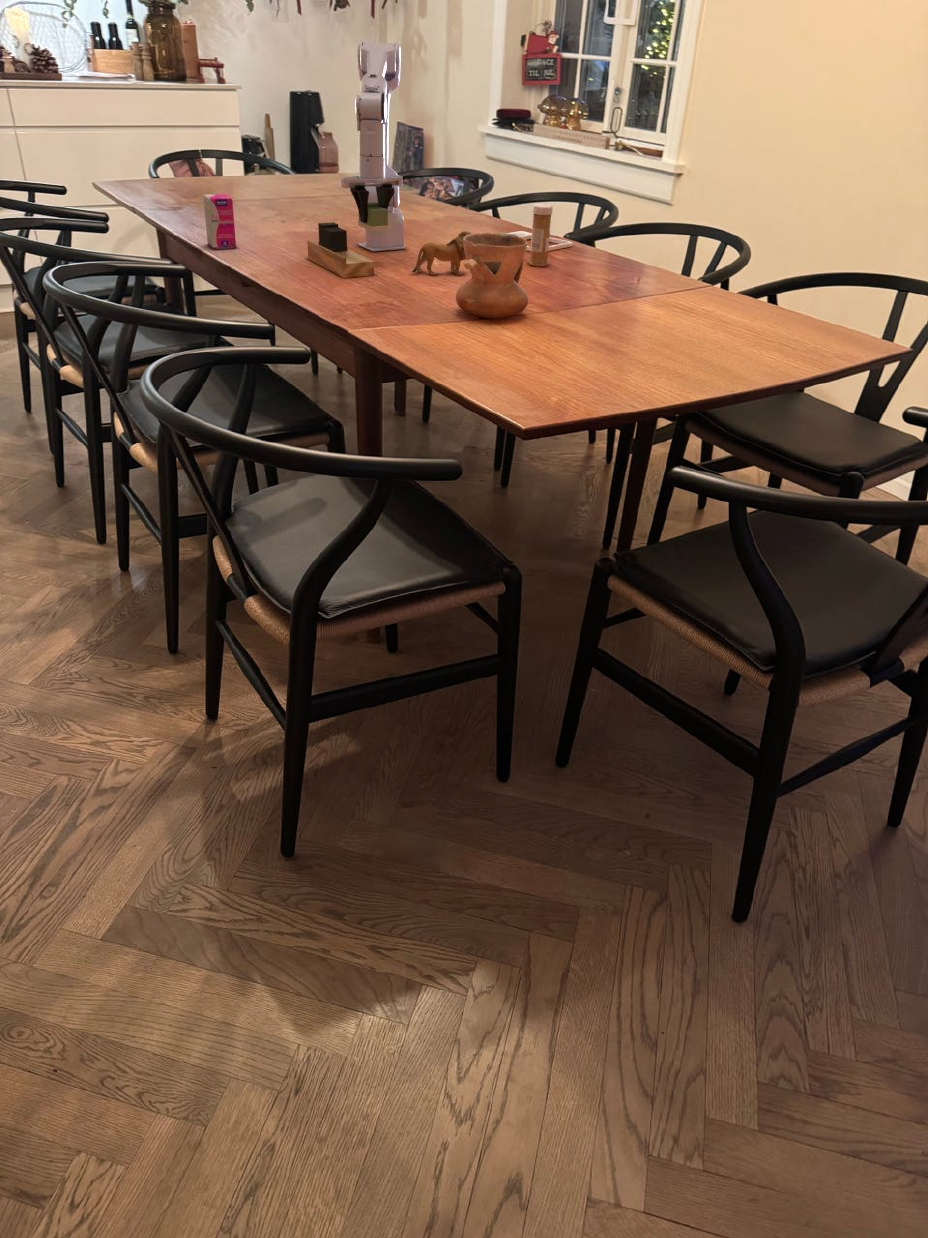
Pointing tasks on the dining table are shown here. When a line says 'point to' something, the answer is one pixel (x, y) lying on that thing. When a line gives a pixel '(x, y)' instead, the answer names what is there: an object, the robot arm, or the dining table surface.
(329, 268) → the wooden tray
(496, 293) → the ceramic jug
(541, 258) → the sprinkles bottle
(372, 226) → the green block
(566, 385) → the dining table surface
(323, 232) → the black block
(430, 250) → the lion figurine
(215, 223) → the supplement box
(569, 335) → the dining table surface
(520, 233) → the photo frame
